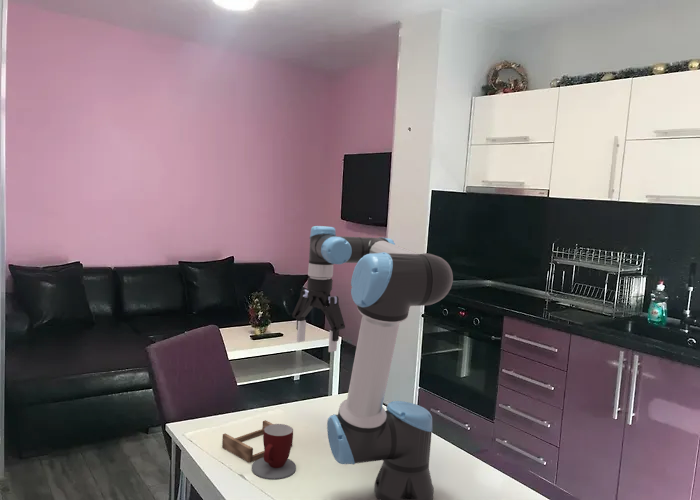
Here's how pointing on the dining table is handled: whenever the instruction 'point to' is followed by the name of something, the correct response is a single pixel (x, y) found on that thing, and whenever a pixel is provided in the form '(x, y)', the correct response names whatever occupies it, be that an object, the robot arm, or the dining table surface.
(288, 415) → the dining table surface
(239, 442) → the wooden tray frame
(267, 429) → the mug
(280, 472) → the coaster
